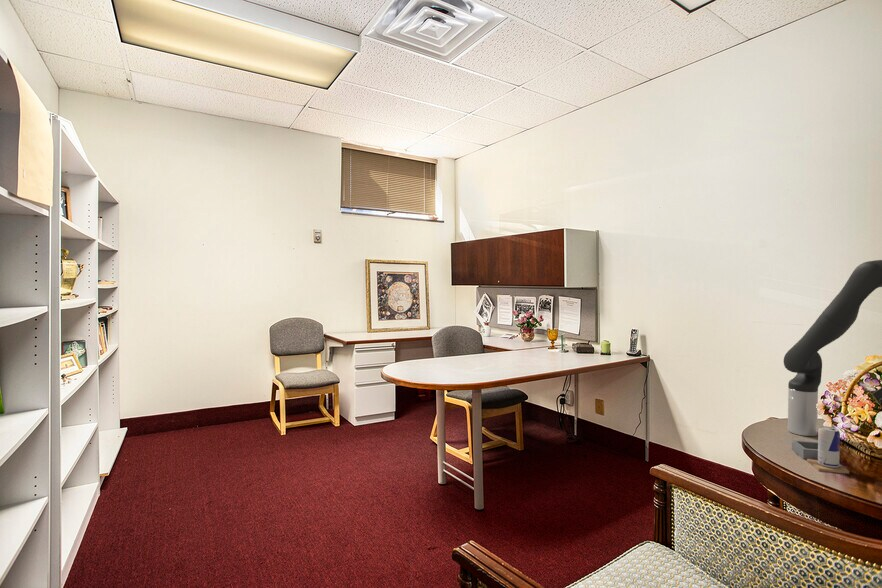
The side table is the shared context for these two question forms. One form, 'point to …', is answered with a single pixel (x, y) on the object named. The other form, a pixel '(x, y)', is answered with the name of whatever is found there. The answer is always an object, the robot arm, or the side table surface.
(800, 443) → the square collar
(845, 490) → the side table surface
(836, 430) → the energy drink
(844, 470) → the light tan wooden coaster
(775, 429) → the side table surface
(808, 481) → the side table surface
